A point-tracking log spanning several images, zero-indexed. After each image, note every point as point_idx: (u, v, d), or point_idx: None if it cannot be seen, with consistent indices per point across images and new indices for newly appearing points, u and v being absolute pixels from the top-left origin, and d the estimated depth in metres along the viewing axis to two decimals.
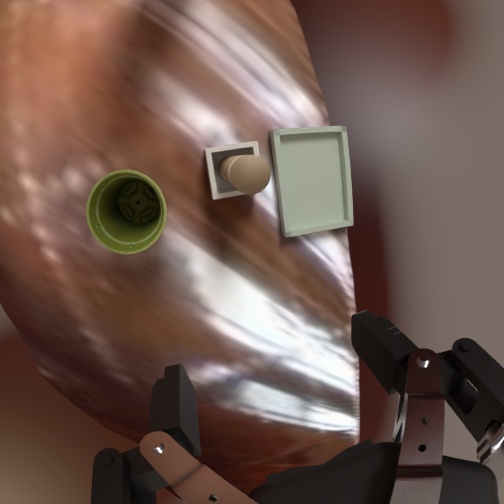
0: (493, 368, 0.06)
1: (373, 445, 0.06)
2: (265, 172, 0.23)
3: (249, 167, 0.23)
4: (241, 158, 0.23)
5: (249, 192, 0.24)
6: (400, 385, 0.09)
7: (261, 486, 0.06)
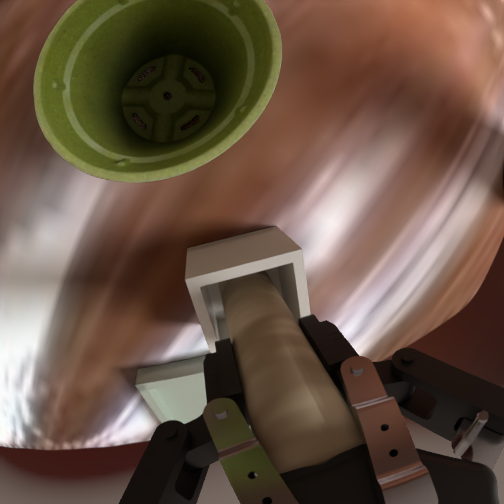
0: (444, 371, 0.07)
1: None
2: None
3: None
4: None
5: None
6: None
7: None
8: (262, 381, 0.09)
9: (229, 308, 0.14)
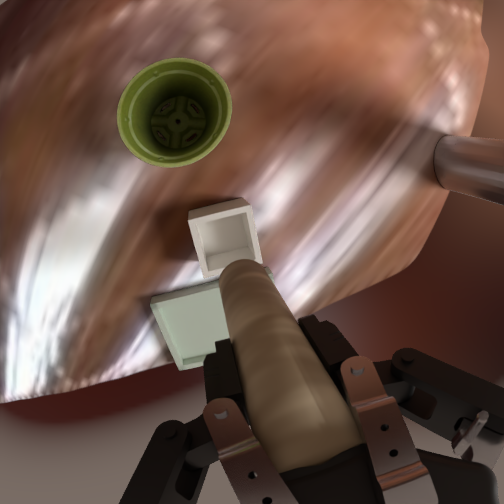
0: (444, 371, 0.07)
1: None
2: None
3: None
4: None
5: None
6: None
7: None
8: (262, 380, 0.09)
9: (229, 308, 0.14)
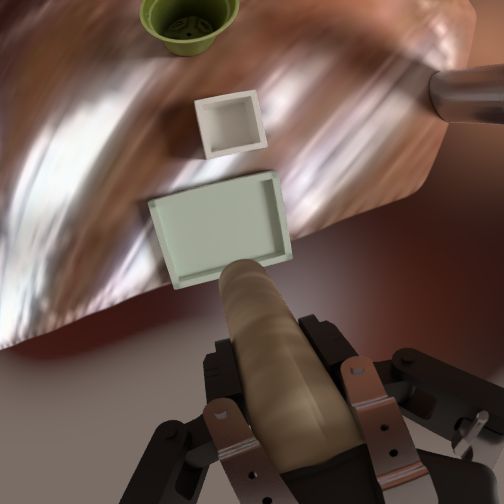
0: (444, 371, 0.07)
1: None
2: None
3: None
4: None
5: None
6: None
7: None
8: (262, 381, 0.09)
9: (229, 308, 0.14)
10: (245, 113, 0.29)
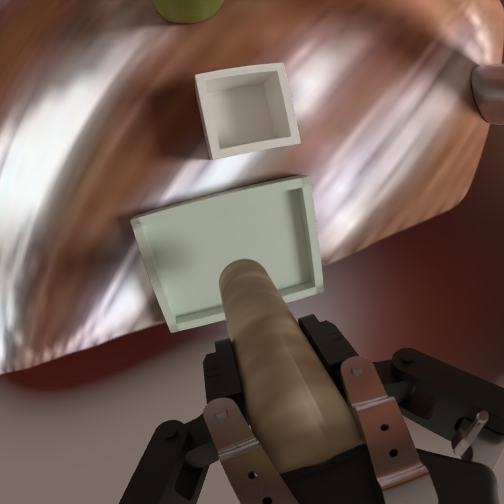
0: (444, 371, 0.07)
1: None
2: None
3: None
4: None
5: None
6: None
7: None
8: (262, 381, 0.09)
9: (229, 308, 0.14)
10: (265, 97, 0.21)
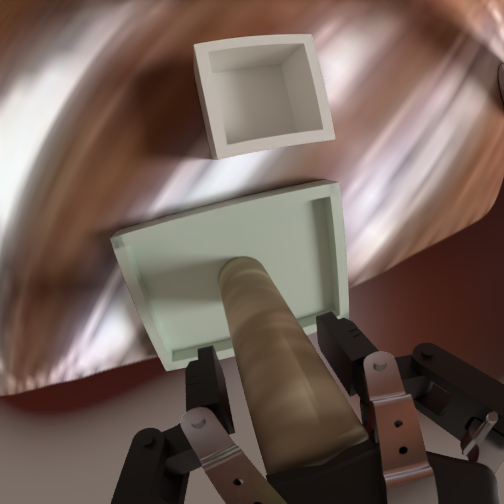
0: (461, 368, 0.07)
1: (373, 445, 0.06)
2: None
3: (337, 453, 0.07)
4: (364, 435, 0.07)
5: (272, 471, 0.06)
6: (358, 387, 0.09)
7: None
8: (262, 372, 0.09)
9: (229, 304, 0.15)
10: (283, 81, 0.16)
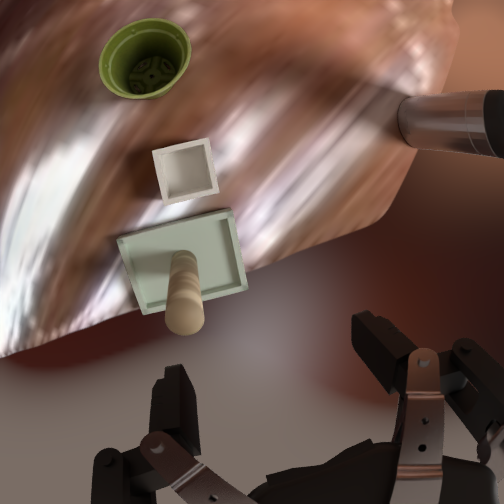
0: (493, 369, 0.06)
1: (373, 445, 0.06)
2: (188, 330, 0.24)
3: (191, 317, 0.23)
4: (199, 309, 0.23)
5: (166, 319, 0.23)
6: (400, 385, 0.09)
7: (261, 486, 0.06)
8: (171, 289, 0.26)
9: (170, 270, 0.31)
10: (203, 155, 0.32)
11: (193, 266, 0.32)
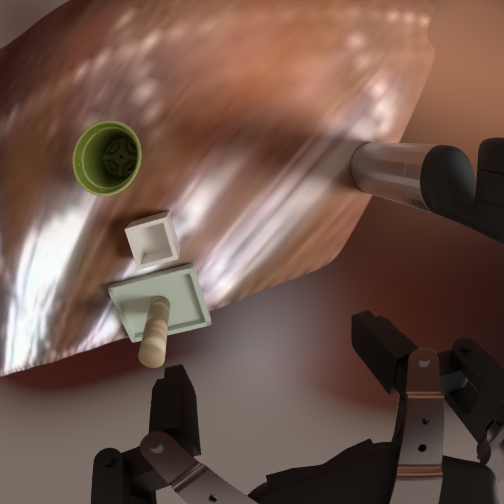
0: (493, 368, 0.06)
1: (373, 445, 0.06)
2: (155, 365, 0.32)
3: (155, 357, 0.32)
4: (160, 352, 0.32)
5: (139, 358, 0.32)
6: (400, 385, 0.09)
7: (261, 486, 0.06)
8: (144, 335, 0.35)
9: (147, 315, 0.40)
10: None
11: (163, 312, 0.40)
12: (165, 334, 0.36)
